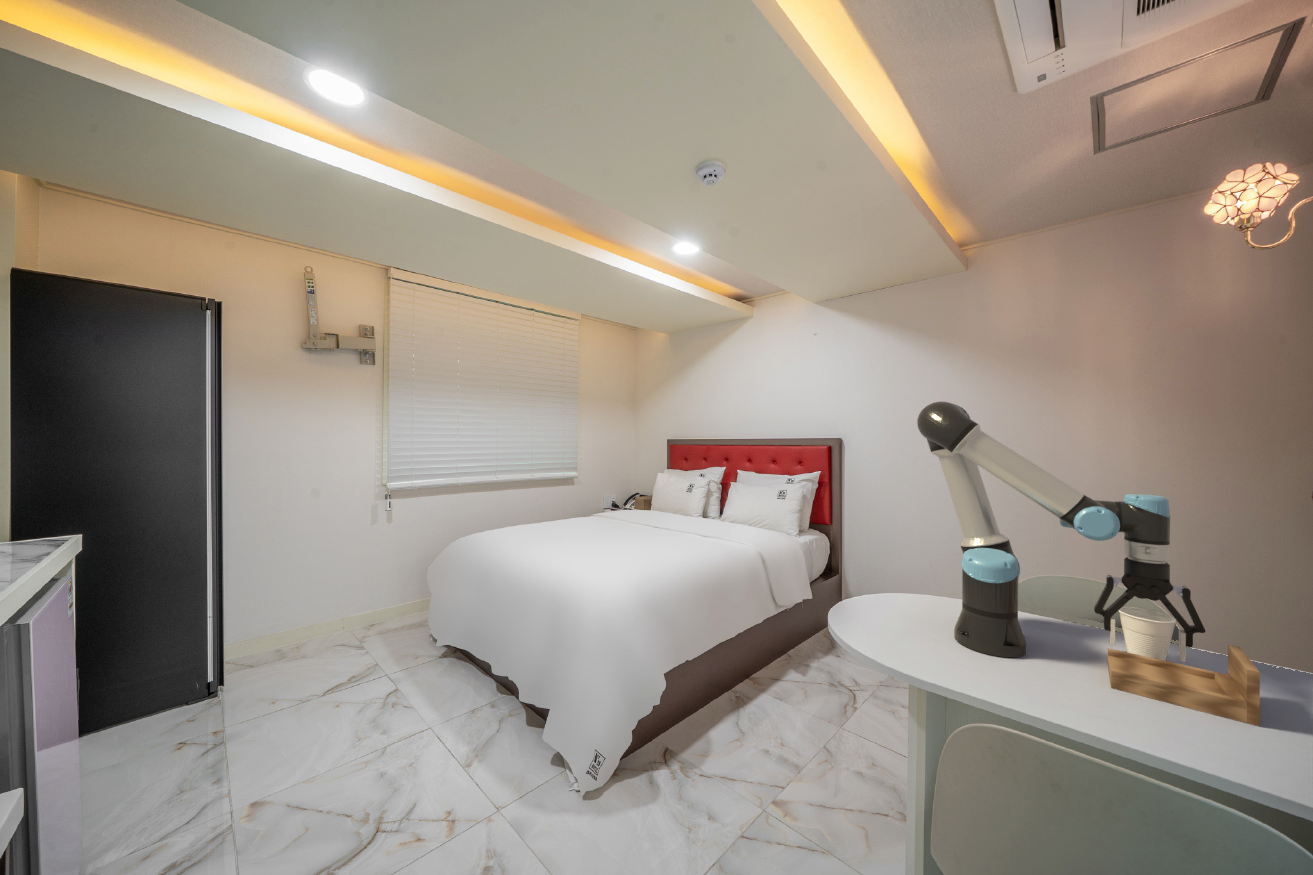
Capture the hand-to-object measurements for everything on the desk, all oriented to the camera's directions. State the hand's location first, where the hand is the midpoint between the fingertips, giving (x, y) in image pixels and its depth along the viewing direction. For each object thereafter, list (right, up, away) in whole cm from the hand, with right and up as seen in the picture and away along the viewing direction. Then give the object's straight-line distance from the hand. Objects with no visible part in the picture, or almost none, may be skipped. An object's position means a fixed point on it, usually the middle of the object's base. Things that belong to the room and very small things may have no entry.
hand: (1146, 651), depth 110 cm
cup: (0, -2, 0) cm, 2 cm away
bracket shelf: (-9, -2, -13) cm, 16 cm away
